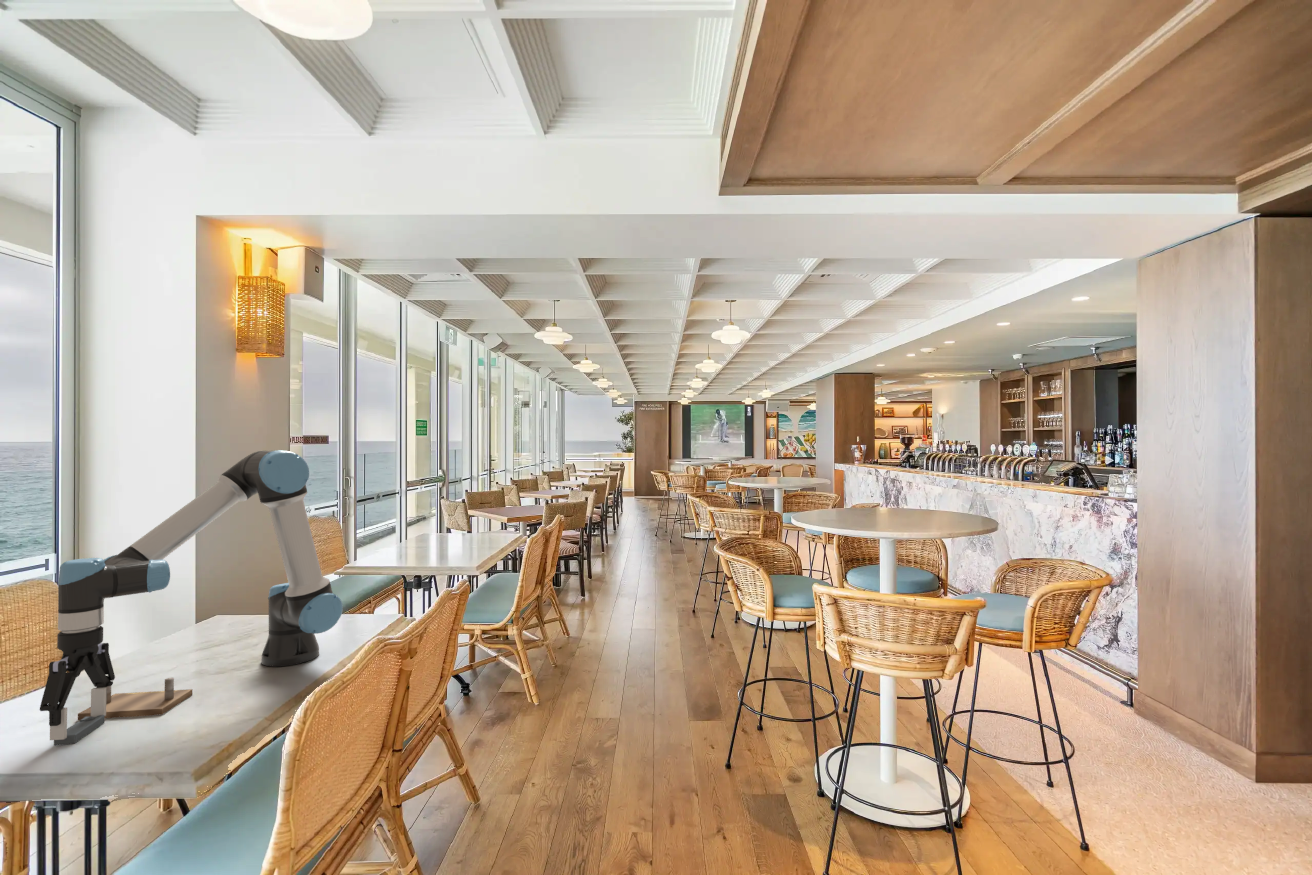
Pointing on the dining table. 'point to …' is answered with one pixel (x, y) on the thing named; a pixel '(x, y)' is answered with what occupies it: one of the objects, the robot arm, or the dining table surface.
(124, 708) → the mount
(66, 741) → the dark grey block
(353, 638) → the dining table surface
